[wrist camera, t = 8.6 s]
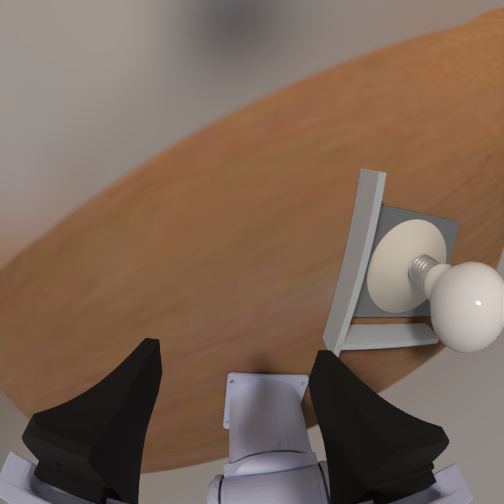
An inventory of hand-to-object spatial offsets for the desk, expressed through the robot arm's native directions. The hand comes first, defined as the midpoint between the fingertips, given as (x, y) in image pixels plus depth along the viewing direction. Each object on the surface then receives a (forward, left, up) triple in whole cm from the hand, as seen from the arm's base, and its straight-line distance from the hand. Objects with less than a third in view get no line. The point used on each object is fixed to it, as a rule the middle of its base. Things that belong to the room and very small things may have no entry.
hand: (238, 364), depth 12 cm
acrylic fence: (+2, -14, -10) cm, 18 cm away
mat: (+2, -15, -10) cm, 18 cm away
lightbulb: (+2, -16, -10) cm, 19 cm away
